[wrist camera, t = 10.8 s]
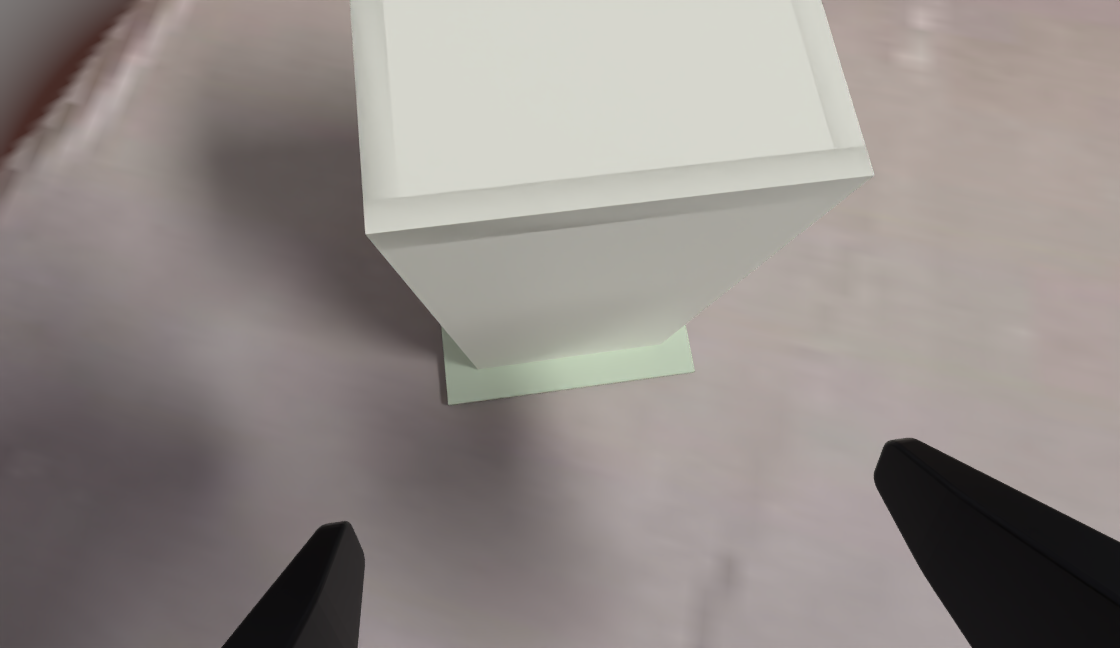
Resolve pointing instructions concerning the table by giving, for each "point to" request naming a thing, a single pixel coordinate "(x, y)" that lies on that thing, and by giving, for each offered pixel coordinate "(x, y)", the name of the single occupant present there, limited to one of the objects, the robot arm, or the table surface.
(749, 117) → the white chamfered pillar
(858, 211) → the table surface
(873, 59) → the table surface
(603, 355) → the sage pad
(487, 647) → the table surface
